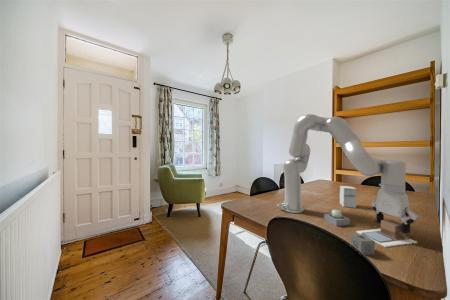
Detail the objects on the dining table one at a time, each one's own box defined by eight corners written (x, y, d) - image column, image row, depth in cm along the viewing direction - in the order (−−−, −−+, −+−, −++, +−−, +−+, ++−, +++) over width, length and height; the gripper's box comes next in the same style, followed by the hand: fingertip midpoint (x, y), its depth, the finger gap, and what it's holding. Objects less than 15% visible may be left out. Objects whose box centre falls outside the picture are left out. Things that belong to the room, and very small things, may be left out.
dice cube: (362, 246, 67) (363, 234, 67) (374, 254, 62) (374, 241, 62) (350, 247, 67) (350, 234, 67) (361, 254, 62) (361, 241, 62)
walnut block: (394, 238, 71) (394, 225, 71) (380, 232, 77) (380, 220, 77) (405, 237, 72) (405, 224, 72) (390, 231, 78) (391, 219, 78)
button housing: (336, 226, 85) (336, 220, 85) (324, 219, 92) (324, 214, 92) (349, 224, 86) (350, 219, 86) (336, 218, 94) (336, 213, 94)
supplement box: (343, 206, 113) (343, 187, 113) (339, 203, 120) (339, 185, 120) (356, 208, 111) (356, 188, 111) (351, 204, 118) (351, 186, 118)
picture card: (385, 247, 67) (385, 245, 67) (356, 232, 78) (356, 230, 78) (417, 243, 70) (417, 241, 70) (384, 229, 81) (384, 227, 81)
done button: (336, 220, 87) (336, 212, 87) (329, 216, 91) (329, 209, 91) (343, 219, 88) (343, 212, 87) (336, 216, 92) (336, 209, 92)
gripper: (365, 184, 82) (365, 219, 83) (410, 194, 65) (409, 238, 66) (378, 184, 84) (377, 218, 84) (425, 193, 67) (424, 236, 67)
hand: (391, 227), depth 75 cm, fingers open, 9 cm apart
